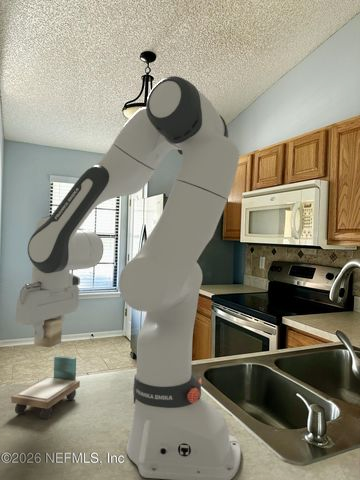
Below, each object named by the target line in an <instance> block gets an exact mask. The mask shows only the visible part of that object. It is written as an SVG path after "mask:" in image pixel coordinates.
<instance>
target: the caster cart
mask: <svg viewBox="0 0 360 480" xmlns="http://www.w3.org/2000/svg"><path fill="white" fill-rule="evenodd" d="M53 359H54V360H53V376H46V377H44V378H41V379H40V380H38V381H36V382H35V383H33V384H31V385H29V386H27V387H25V388H23V389H22V390H20V391H19V392H16V393H15V394H13V395H11V401H10V403H12V404H16V405H15V408H14V412H15V413H16V414H18V415H23V414H24V413H25V412H26V410H27V407H28V406H29V407H35V408H41V410H40V414H39V415H40V418H41V419H46V420H47V419H48V418H50V417H51V414H52V411H53V409H52V408H53V407H52V406H54V405H56V404H57V403H58V402H60V401H62V400H63V399H64V398H66V400H69V401H73V400H74V399H75V397H76V394H77V389H78V388H80V386H81V385H80V384H81V383H80V382H81V381H80V380H76V378H77V376H76V375H77V357H73V356H66V355H65V356H63V355H56V356H55V355H54V357H53Z"/></svg>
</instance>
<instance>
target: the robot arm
mask: <svg viewBox="0 0 360 480" xmlns="http://www.w3.org/2000/svg"><path fill="white" fill-rule="evenodd" d="M175 150H177V152H178V154H180V155H182V160H181V165H180V168H179V171H178V172H177V175H176V177H175V179H174V182H173V185H172V188H171V190H170V192H169V195H168V197H167V200H166V203H165V205H164V208H163V210H162V213H161V215H160V217H159V219H158V221H157V223H156V224H155V226H154V228H153V229H152V230H151V232H150V233H149V235H148V237H147V239H146V240H145V241H144V243H143V245H142V247H141V248H140V249H139V251H138V252H137V253H136V255H135V256H134V257H133V258H132V259H131V260H130V261H129V262H127V263H126V264H125V266H124V267H123V268H122V270H121V272H120V276H119V278H118V279H119V280H118V287H119V293H120V295H121V298H123V302H125V303H126V305H128V306H129V307H130V308H131V309H133V310H135V311H139V312H145V317H144V321H143V323H142V326H141V329H140V330H139V332H138V336H137V339H136V340H137V341H136V374H134V380H133V389H132V390H133V391H132V392H133V403H134V411H133V415H132V416H133V418H132V424H131V429H130V432H129V437H128V441H127V444H126V446H125V447H126V450H125V451H126V454H127V456H128V459H129V460H131V461H132V462H133V463H134V464H135V465H136V466H137V468H138V472H139V474H140V475H141V477H143V478H146V479H161V480H232V479H233V478H234V477H235V475H236V474H237V472H238V471H239V468H240V464H241V459H242V454H241V453H242V452H241V445H240V443H239V441H238V439H237V438H236V437H235V436H234V435H231V434H230V433H229V428H228V427H229V426H228V423H227V419H226V417H225V415H224V414H223V413H221V412H220V411H219V410H218V409H217V408H216V407H215V406H213V405H212V404H211V403H210V402H209V401H208V400H206V399H205V398H204V397H203V396H202V377H200V378H199V380H197V378H196V377H194V375H193V374H192V361H193V360H192V359H193V358H192V356H193V355H192V354H193V335H194V328H195V322H196V321H195V320H196V317H197V310H198V303H199V296H200V295H199V294H200V289H201V286H202V282H203V271H202V268H201V267H200V265H199V263H198V262H197V261H199V257H200V256H201V255H202V253H203V251H204V250H205V248H206V246H207V245H208V244H209V242H210V241H211V240H212V238H213V237H214V235H215V232H216V230H217V226H218V224H219V222H220V220H221V217H222V215H223V213H224V210H225V207H226V204H227V202H228V201H229V200H228V199H229V196H230V195H231V192H232V189H233V186H234V184H235V183H234V182H235V179H236V175H237V171H238V166H239V162H240V161H239V160H240V151H239V149H238V146H237V145H236V143H234V142H233V141H232V140H231V139H230V138H229V129H228V126H227V123H226V121H225V119H224V118H223V116H222V115H220V114H219V111H217V109H216V108H215V106H214V105H213V103H212V102H211V101H210V100H209V98H208V97H207V96H206V95H204V94H203V93H202V92H201V91H200V90H198V89H197V87H196V86H195V85H194V84H193V83H192V82H190V81H189V80H187V79H186V78H185V79H184V78H182V77H180V76H177V75H176V76H175V75H173V76H167V77H164V78H163V79H161V80H159V82H157V83H156V84H155V85H154V86H153V87H152V89H151V90H150V92H149V94H148V96H147V99H146V105H145V107H142V108H139V109H138V110H136V111H135V112H134V114H133V115H132V116H131V117H130V118H129V119H128V120H127V122H126V123H125V124H124V125H123V127H122V129H121V130H120V131H119V133H118V134H117V136H116V137H115V139H114V141H113V143H112V144H111V145H110V147H109V149H108V150H107V152H106V153H105V154H104V155H103V156H102V157H101V159H100V160H99V161H98V162H97V163H96V164H95V165H93V166H91V167H89V168H88V169H87V170H86V171H84V173H83V174H82V175H81V176H79V178H78V179H77V181H76V182H75V183H74V185H73V186H72V187H71V188H70V190H69V191H68V193H67V194H66V195H65V197H64V198H63V199H62V200H61V202H60V203H59V205H58V206H57V207H56V209H55V210H54V212H53V213H52V214H51V215H48V216H43V217H42V218H40V219H38V220H37V223H36V225H35V229H34V233H33V234H32V235H31V237H30V239H29V241H28V245H27V255H28V258H29V261H30V262H31V264H32V268H31V269H32V270H31V283H25V284H24V285H23V287H22V288H21V289H20V291H19V294H18V298H17V302H16V308H15V317H14V320H15V322H16V324H17V325H22V326H32V327H33V329H34V332H35V331H36V339H40V340H41V339H44V338H46V331H44V329H43V326H42V325H44V321H45V320H48V319H51V318H56V319H62V324H64V320H65V315H67V314H71V313H74V312H76V311H77V310H78V308H79V303H80V302H79V300H80V289H79V286H80V284H81V278H80V276H77V275H75V274H73V273H71V272H70V271H75V270H76V271H77V270H86V269H90V268H93V267H94V268H95V266H97V265H98V264H99V263H100V262H101V260H102V258H103V254H104V243H103V240H102V239H101V237H100V235H98V234H97V233H96V232H93V231H91V230H89V229H86V228H83V227H81V226H83V224H84V222H85V220H86V219H87V218H88V217H89V216H90V215H91V213H92V212H93V210H94V209H95V208H96V207H98V206H99V205H100V204H102V203H104V202H106V201H109V200H112V199H115V198H121V197H124V196H130V195H134V194H136V193H138V192H140V191H141V190H142V189H143V188H144V187H145V186H147V183H148V182H149V181H150V180H151V178H152V177H153V175H154V173H155V172H156V170H157V168H158V167H159V165H160V163H161V162H162V160H163V158H164V157H165V156H166V155H167V154H168V153H169V152H170V151H175Z"/></svg>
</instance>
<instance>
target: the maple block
mask: <svg viewBox="0 0 360 480" xmlns="http://www.w3.org/2000/svg"><path fill="white" fill-rule="evenodd" d="M42 326H43V329H44V331H46V338H44V339H41V340H40V339H36V331H35V330H34V341H33V342H34V343H33V345H34V346H35V347H43V348H52V347H55V346H57V345H59V344H61V343H62V334H63V333H62V332H63V331H62V330H63V323H62V319H56V318H51V319H48V320H45V321H44V325H42Z"/></svg>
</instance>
